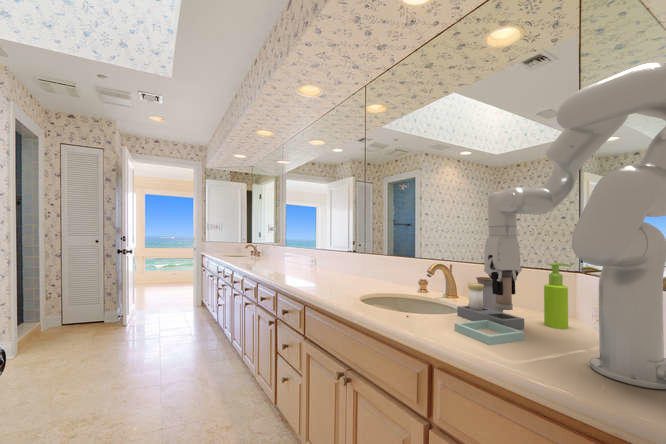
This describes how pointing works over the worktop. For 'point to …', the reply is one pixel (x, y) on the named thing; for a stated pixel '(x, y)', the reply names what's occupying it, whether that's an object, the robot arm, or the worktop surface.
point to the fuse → (476, 296)
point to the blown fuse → (505, 292)
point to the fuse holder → (491, 317)
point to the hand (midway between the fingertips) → (503, 293)
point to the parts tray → (505, 337)
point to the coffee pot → (488, 293)
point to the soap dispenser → (556, 300)
